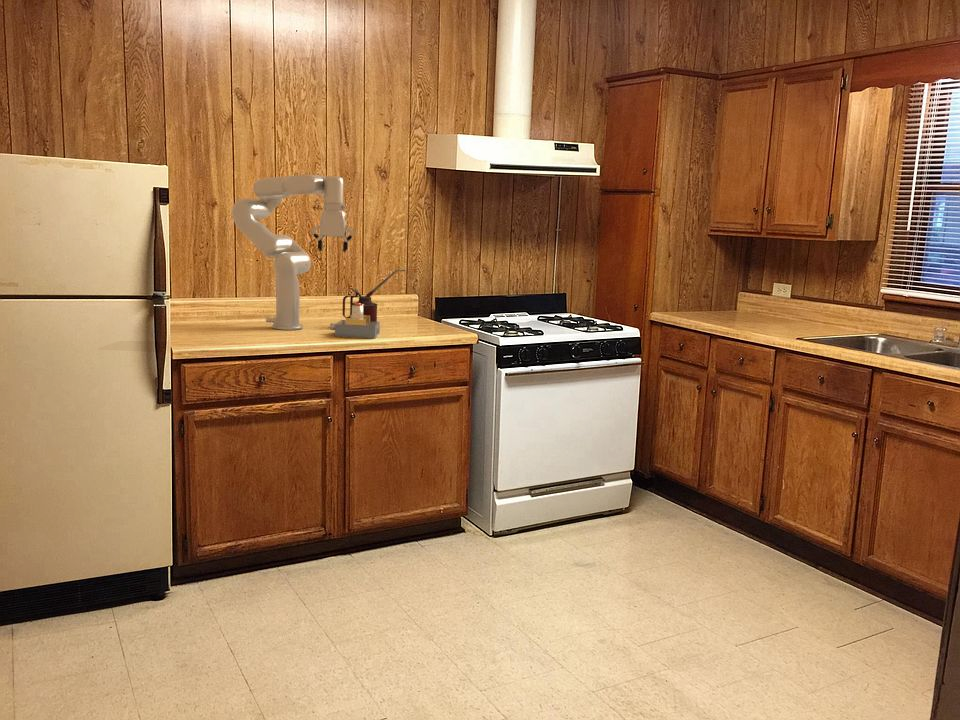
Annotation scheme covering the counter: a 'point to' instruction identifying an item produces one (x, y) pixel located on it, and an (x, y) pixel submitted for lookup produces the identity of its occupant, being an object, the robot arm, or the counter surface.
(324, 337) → the counter surface
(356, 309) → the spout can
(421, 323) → the counter surface
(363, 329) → the gearbox
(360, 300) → the oil can
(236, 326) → the counter surface
